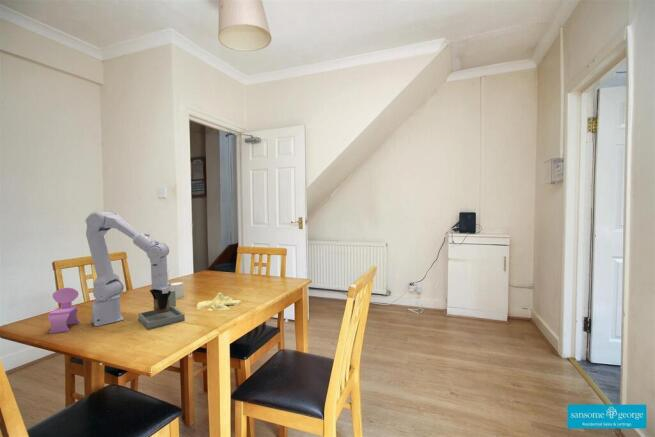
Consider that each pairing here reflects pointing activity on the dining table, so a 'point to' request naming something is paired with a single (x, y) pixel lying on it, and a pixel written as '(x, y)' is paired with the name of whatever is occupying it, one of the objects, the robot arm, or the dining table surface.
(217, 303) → the cloth
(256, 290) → the dining table surface
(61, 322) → the toy chair
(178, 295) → the shot glass
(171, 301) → the tall block
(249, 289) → the dining table surface
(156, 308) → the short block
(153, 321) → the tray
